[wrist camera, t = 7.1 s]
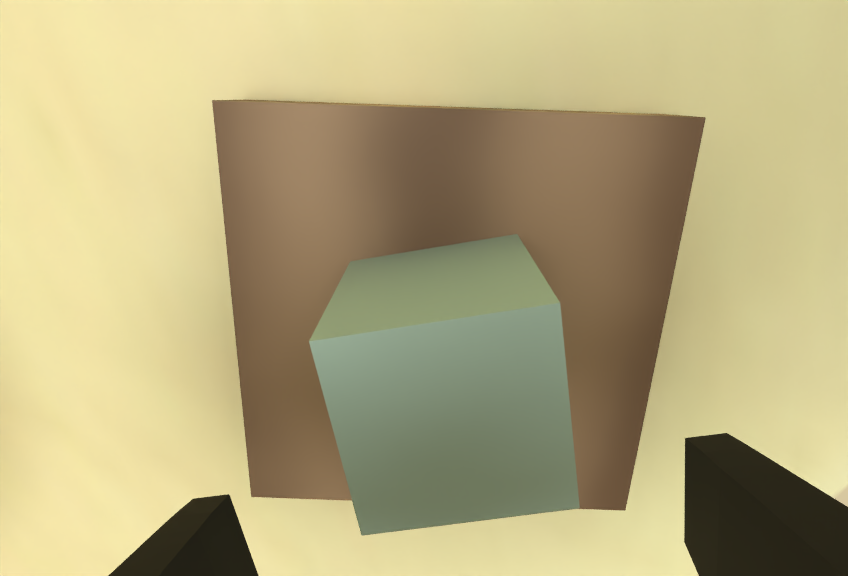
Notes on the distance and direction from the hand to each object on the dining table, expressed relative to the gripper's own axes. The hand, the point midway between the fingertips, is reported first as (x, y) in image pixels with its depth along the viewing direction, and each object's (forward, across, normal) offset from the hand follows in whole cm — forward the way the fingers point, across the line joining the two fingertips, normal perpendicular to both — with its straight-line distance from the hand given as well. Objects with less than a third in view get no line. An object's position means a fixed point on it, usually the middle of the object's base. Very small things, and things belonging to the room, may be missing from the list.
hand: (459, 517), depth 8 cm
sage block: (+7, 0, 0) cm, 7 cm away
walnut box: (+10, 0, 0) cm, 10 cm away
